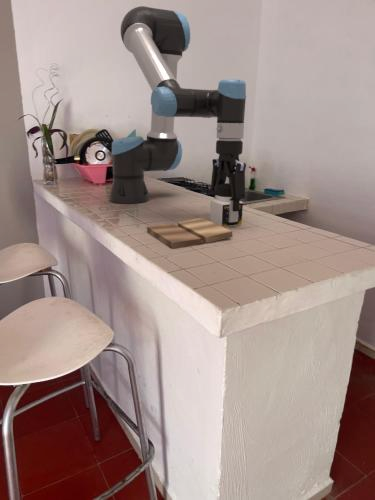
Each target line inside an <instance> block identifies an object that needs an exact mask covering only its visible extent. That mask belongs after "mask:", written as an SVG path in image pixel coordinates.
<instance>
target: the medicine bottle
mask: <svg viewBox="0 0 375 500" xmlns="http://www.w3.org/2000/svg"><path fill="white" fill-rule="evenodd" d="M235 196H236V195H235ZM217 198H218V199H215V198H212V199H210V203H209V205H210V207H209V208H210V210H209V212H210V213H209V221H210V222H213V223H215V224H217V225H219V226H222V227H224V228H229V227H236V226H242V223H243V209H244V207H243V206H244V202H243V201H241V200H240V203H239V211H238V221H237V222H229V206H230V199H231V198H232V197H231V190H230V184H229V182H228V183H226V182H225V183H224V184H219V185H218V186H217Z"/></svg>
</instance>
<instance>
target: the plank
mask: <svg viewBox="0 0 375 500" xmlns="http://www.w3.org/2000/svg"><path fill="white" fill-rule="evenodd" d="M177 226H178V227H180V228H182V229H184V230H186V231H188V232H190V233H192V234H193V235H195V236H197V237H199V238H201V240H202V241H204V242H205V244H207V243H212V242H215V241H220V240H224V239H227V238H228V239H230V238H232V237H233V230H230V229H228V228H227V227H222V226H219V225H217V224H215V223H213V222H210V220H208V219H205V218H203V217H198V218H193V219H188V220H184V221H180V222H179V221H178V222H177Z"/></svg>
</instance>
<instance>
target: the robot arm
mask: <svg viewBox="0 0 375 500" xmlns="http://www.w3.org/2000/svg"><path fill="white" fill-rule="evenodd" d="M119 32H120V37H121V41H122V43H123V46H125V48H126V49H127V51H128V52H129V53H130V54H131V53H132V56H133V57H134V59H135V61H136V63H137V65H138V67H139V69H140V70H141V72H142V74H143V76H144V78H145V80H146V81H147V84H148V85H149V87H150V89H151V91H152V92H151V95H150V105H151V119H150V120H151V121H150V124H151V125H150V130H149V132H148V133H146V139H145V140H144V137H143V136H128V137H121V138H116V139H114V140H113V141H112V142H111V153H110V154H111V159H112V161H111V162H112V163H111V165H112V184H111V188H110V190H109V195H108V196H109V201H110V202H111V203H112V202H113V203H117V204H140V203H144V202H149V200H150V196H149V195H150V194H149V190H148V188H147V184H146V182H145V172H158V171H163V172H165V171H173V170H174V169H177V167H178V166H180V163H181V161H182V157H183V148H182V143H181V142H180V140H178V136H177V134H176V133H175V131H174V128H175V127H174V126H175V118H202V119H203V118H204V119H206V118H207V119H210V118H216V123H217V124H216V139H218V140H216V141H215V153H216V155H218V158H214V159H212V171H211V182H210V183H211V184H210V191H211V193H212V192H213V194H214V199H218V198H217V186H218V185H219V184H224V183H226V181H227V178H228V183H229V184H230V190H231V197H232V198H231V199H230V206H229V222H237V221H238V211H239V203H240V201H241V200H244V199H245V198H246V167H247V164H246V163H245V162H241V161H240V155H242V154H243V148H244V147H243V144H244V143H243V141H242V140H243V139H244V133H245V132H244V131H245V130H244V129H245V114H246V113H245V112H246V98H247V95H246V94H247V92H246V91H247V90H246V89H247V85H246V82H245V81H244V80H243V79H236V78H235V79H234V78H233V79H231V78H230V79H229V78H228V79H226V78H225V79H221V80H220V81H218V84H217V85H218V86H217V89H196V88H183V87H181V85H180V83H178V81H177V78H178V77H177V75H178V62H179V61H180V60H181V59H182V58H183V53H184V52H185V51H187V50H188V49H189V45H190V42H191V28H190V24H189V21H188V18H187V17H186V16H185V15H184V14H183V13H181V12H177V11H174V10H169V9H162V8H154V7H149V6H143V5H141V6H135V7H134V8H131V9H130V10H129V11H128V12H127V13H126V14H125V15H124V17H123V19H122V21H121V24H120V31H119ZM235 195H236V196H235Z"/></svg>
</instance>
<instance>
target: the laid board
mask: <svg viewBox="0 0 375 500" xmlns="http://www.w3.org/2000/svg"><path fill="white" fill-rule="evenodd" d="M146 232H147V233H148V234H149V235H151V236H152V237H154V238H155V239H157V240H158V241H160V242H162V243H163V244H164V245H166V246H168V247H170V248H171V249H172V250H173V249H180V248H186V247H193V246H198V245H199V246H200V245H204V244H206V243H205V242H204V241H202V240H201V238H199V237H197V236H195V235H193V234H192V233H190V232H188V231H186V230H184V229H182V228H180V227H178V224H175V223H167V224H158V225H151V226H146Z"/></svg>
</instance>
